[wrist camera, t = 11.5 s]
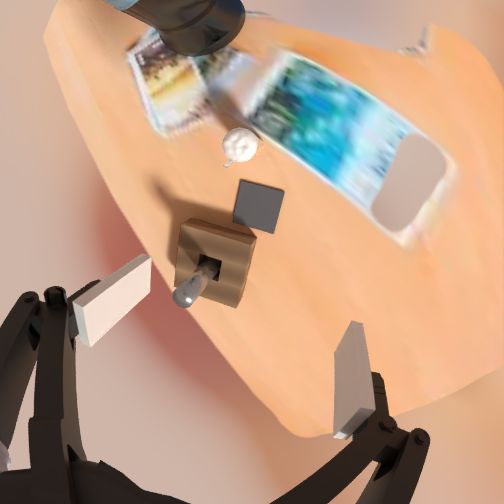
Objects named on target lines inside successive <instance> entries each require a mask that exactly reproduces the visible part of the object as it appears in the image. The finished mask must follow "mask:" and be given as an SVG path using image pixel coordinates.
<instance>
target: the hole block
mask: <svg viewBox="0 0 504 504" xmlns="http://www.w3.org/2000/svg"><path fill="white" fill-rule="evenodd" d="M256 239H257V237H254V236H251V235H247V234H244V233H241V232H237V231H234V230H230V229H227V228H223V227H220V226H216V225H213V224H210V223H206V222H203V221H199V220H196V219H192V218H191V219H189V220H187V221H186V222H184V223H182V224H181V228H180V235H179V243H178V252H177V261H176V270H175V280H174V287H177V288H178V287H179V285H180V284H181V283H182V282H183V281H184V280H185V279H186V278H187V277H188V276H189V275H190V274H191V273H192V272H193V271H194V270H195V269H196V268H197V267H198V266H199V265H200V264H201V263H202V262H203V261H204V260H205V259H206V257H207V256H209V257H212V258H215V259H218V260H222V265H221V270H219V271H218V273H217V274H216V275H215V276H214V277H213V279H212V280H211V281H210V282H209V284H208V285H207V286H206V287H205V289H204V290H203V291H202V292H201V294H200V295H199V296H201V297H204V298H207V299H210V300H213V301H216V302H219V303H222V304H224V305H227V306H230V307H233V308H237V306H238V304H239V302H240V300H241V298H242V296H243V292H244V288H245V284H246V280H247V276H248V272H249V268H250V264H251V259H252V255H253V251H254V247H255V243H256Z"/></svg>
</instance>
